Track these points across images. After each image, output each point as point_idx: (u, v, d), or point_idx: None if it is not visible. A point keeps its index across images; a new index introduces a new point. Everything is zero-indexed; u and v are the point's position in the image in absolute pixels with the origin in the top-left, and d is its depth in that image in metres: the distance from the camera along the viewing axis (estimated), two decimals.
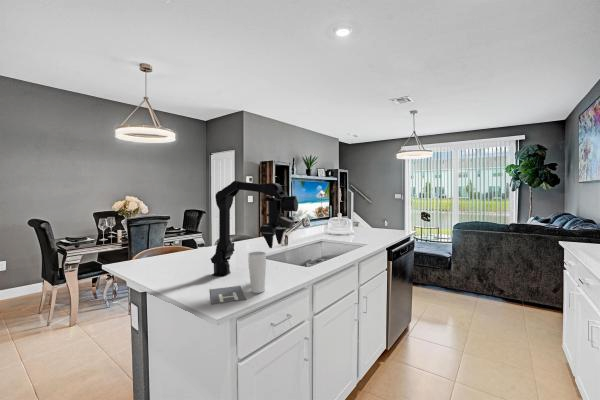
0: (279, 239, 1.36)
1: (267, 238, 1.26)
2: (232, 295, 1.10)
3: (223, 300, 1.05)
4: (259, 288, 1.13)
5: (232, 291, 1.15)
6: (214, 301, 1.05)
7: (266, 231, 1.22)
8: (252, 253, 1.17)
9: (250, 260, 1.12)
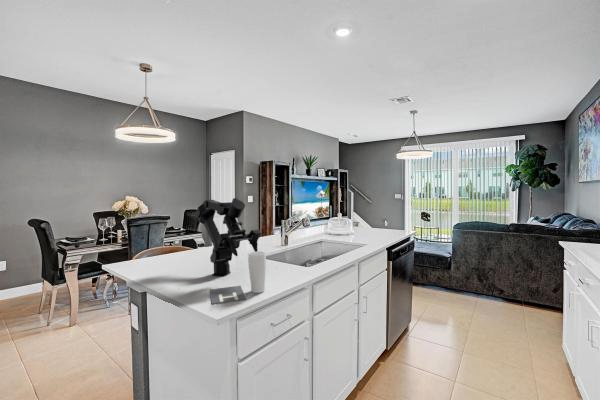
0: None
1: None
2: (232, 295, 1.10)
3: (223, 300, 1.05)
4: (259, 288, 1.13)
5: (232, 291, 1.15)
6: (214, 301, 1.05)
7: None
8: (252, 253, 1.17)
9: (250, 260, 1.12)
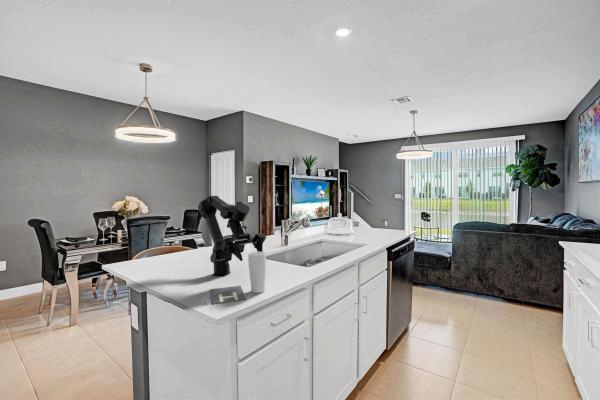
0: None
1: None
2: (232, 295, 1.10)
3: (223, 300, 1.05)
4: (259, 288, 1.13)
5: (232, 291, 1.15)
6: (214, 301, 1.05)
7: None
8: (252, 253, 1.17)
9: (250, 260, 1.12)
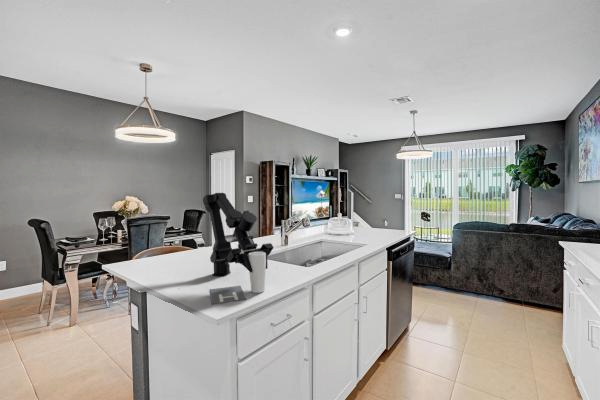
0: None
1: None
2: (232, 295, 1.10)
3: (223, 300, 1.05)
4: (259, 288, 1.13)
5: (232, 291, 1.15)
6: (214, 301, 1.05)
7: None
8: (252, 253, 1.17)
9: (250, 260, 1.12)
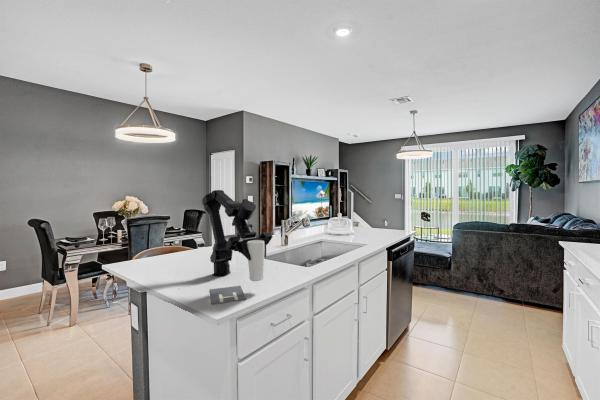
0: None
1: None
2: (232, 295, 1.10)
3: (223, 300, 1.05)
4: (257, 276, 1.12)
5: (232, 291, 1.15)
6: (214, 301, 1.05)
7: None
8: (251, 241, 1.17)
9: (249, 248, 1.12)
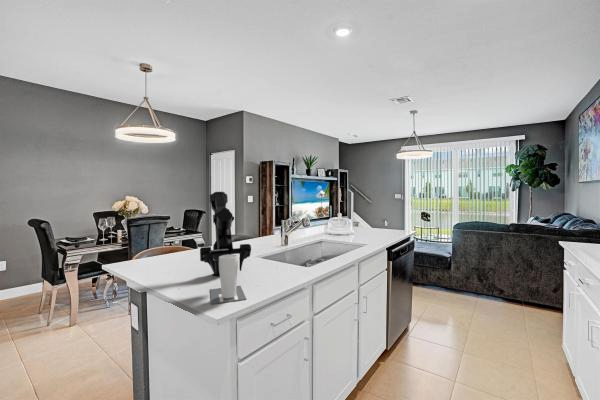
0: None
1: None
2: None
3: (223, 300, 1.05)
4: (226, 293, 1.07)
5: None
6: (214, 301, 1.05)
7: None
8: (226, 256, 1.11)
9: (219, 263, 1.07)
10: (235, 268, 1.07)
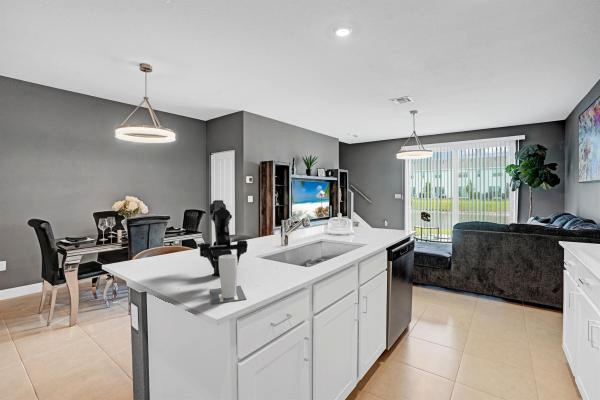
0: None
1: None
2: None
3: (223, 300, 1.05)
4: (226, 293, 1.07)
5: None
6: (214, 301, 1.05)
7: (246, 248, 1.24)
8: (226, 256, 1.11)
9: (219, 263, 1.07)
10: (235, 268, 1.07)
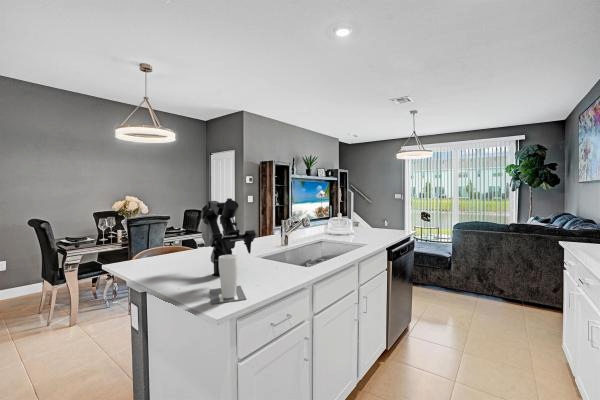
0: None
1: None
2: None
3: (223, 300, 1.05)
4: (226, 293, 1.07)
5: None
6: (214, 301, 1.05)
7: None
8: (226, 256, 1.11)
9: (219, 263, 1.07)
10: (235, 268, 1.07)
